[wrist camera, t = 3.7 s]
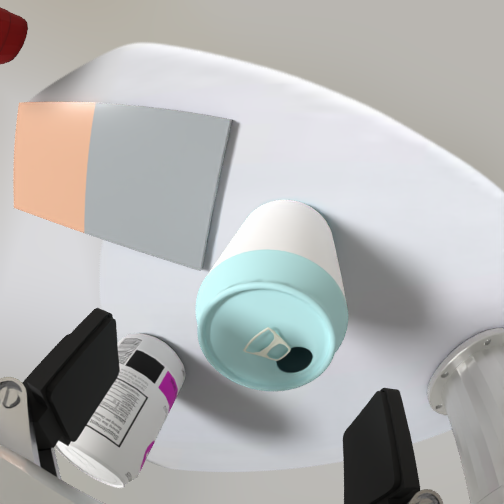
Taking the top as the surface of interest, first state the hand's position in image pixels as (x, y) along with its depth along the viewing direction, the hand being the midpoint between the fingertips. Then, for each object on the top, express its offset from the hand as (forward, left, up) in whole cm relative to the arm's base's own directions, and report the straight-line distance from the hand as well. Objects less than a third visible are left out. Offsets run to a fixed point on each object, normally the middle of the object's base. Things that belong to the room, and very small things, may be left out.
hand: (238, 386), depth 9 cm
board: (+17, -2, -15) cm, 23 cm away
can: (-1, 0, -15) cm, 15 cm away
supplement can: (+9, +17, -15) cm, 25 cm away
